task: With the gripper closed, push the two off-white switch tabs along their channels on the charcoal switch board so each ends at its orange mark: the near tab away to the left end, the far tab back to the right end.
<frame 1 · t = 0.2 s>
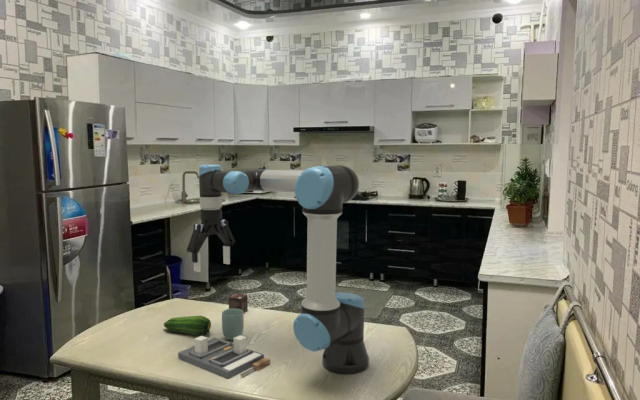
hand: (212, 267, 173), 27 cm above the table, fingers open, 13 cm apart
vegetable: (186, 333, 184), on the table
cup: (233, 338, 179), on the table
switch board: (221, 359, 161), on the table
screwdriver: (261, 367, 156), on the table
tab b: (201, 345, 160), point 5 cm above the table, slide at 0.0 cm
tab a: (240, 344, 161), point 5 cm above the table, slide at 0.0 cm
box: (238, 312, 207), on the table
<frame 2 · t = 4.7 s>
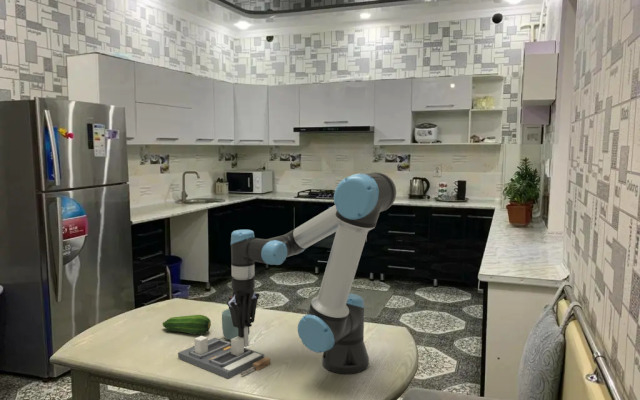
hand: (244, 345, 163), 4 cm above the table, fingers closed
tab a: (237, 346, 160), point 5 cm above the table, slide at 1.2 cm, touching gripper
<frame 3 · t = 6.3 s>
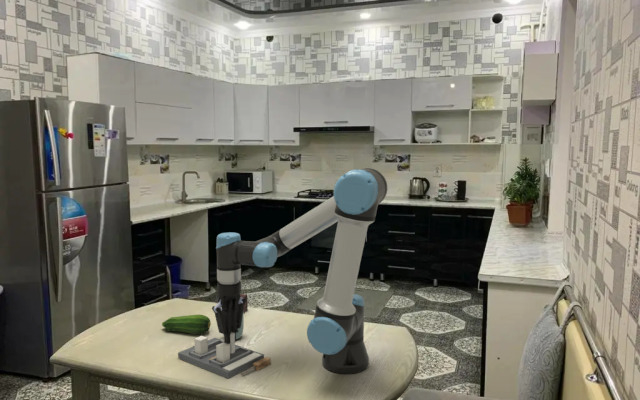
hand: (230, 351, 158), 4 cm above the table, fingers closed
tab a: (223, 352, 155), point 5 cm above the table, slide at 7.5 cm, touching gripper
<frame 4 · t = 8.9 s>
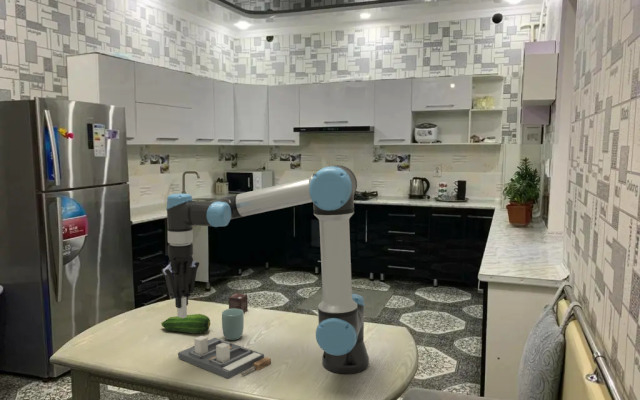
hand: (182, 316, 154), 17 cm above the table, fingers closed
tab a: (223, 352, 155), point 5 cm above the table, slide at 7.5 cm
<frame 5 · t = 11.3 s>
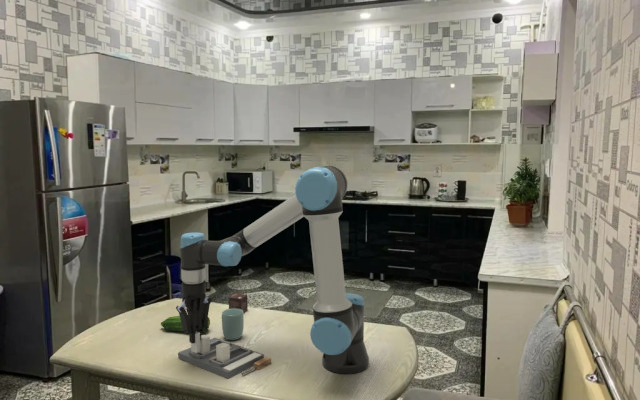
hand: (195, 351, 159), 4 cm above the table, fingers closed
tab b: (203, 344, 161), point 5 cm above the table, slide at -0.9 cm, touching gripper
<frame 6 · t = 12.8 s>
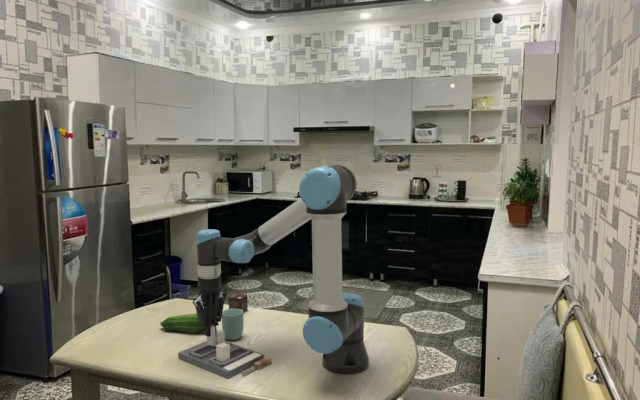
hand: (211, 344, 164), 4 cm above the table, fingers closed
tab b: (218, 338, 166), point 5 cm above the table, slide at -7.5 cm, touching gripper
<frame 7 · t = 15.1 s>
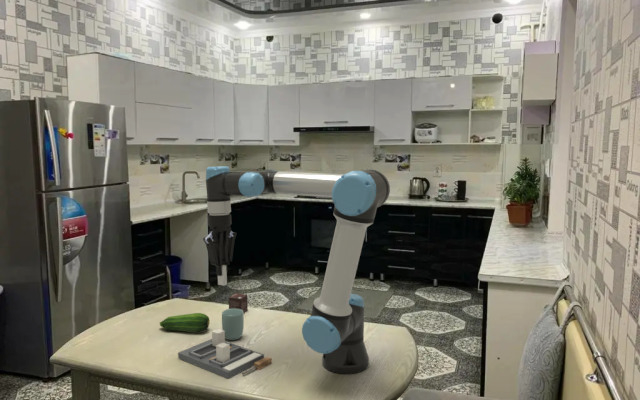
hand: (222, 284, 160), 25 cm above the table, fingers closed
tab b: (218, 338, 166), point 5 cm above the table, slide at -7.5 cm
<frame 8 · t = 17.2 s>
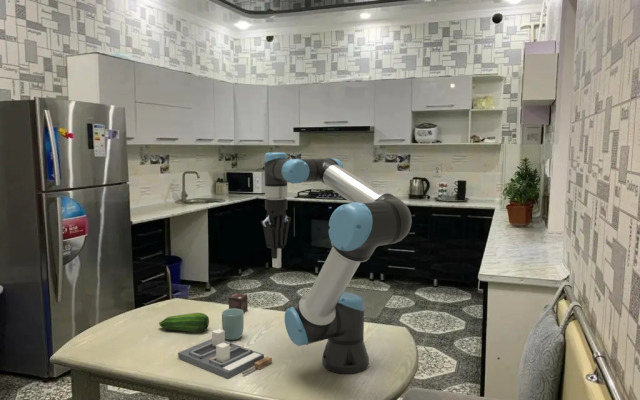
hand: (276, 267, 166), 29 cm above the table, fingers closed
at the end: tab a slide at 7.5 cm; tab b slide at -7.5 cm; screwdriver moved 1.0 cm from its start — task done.
